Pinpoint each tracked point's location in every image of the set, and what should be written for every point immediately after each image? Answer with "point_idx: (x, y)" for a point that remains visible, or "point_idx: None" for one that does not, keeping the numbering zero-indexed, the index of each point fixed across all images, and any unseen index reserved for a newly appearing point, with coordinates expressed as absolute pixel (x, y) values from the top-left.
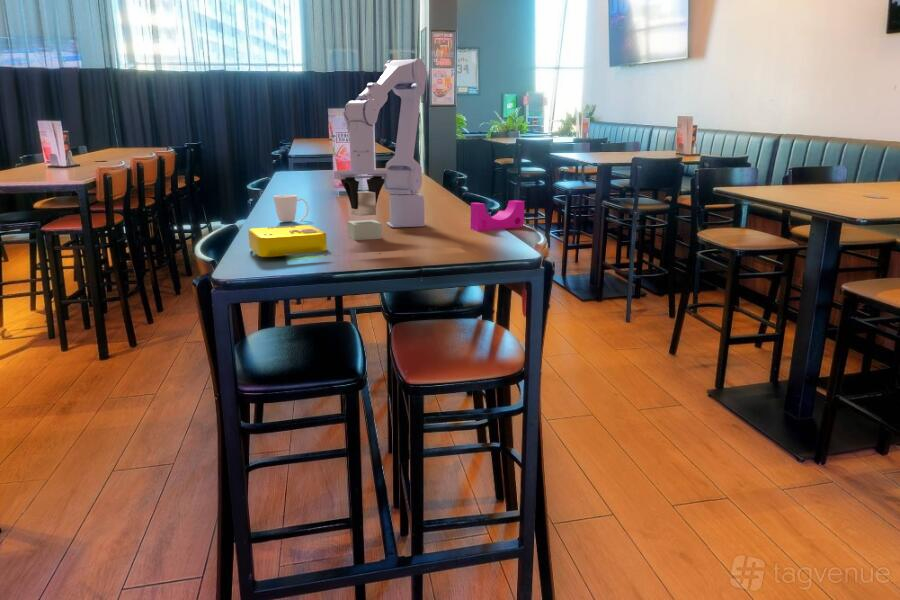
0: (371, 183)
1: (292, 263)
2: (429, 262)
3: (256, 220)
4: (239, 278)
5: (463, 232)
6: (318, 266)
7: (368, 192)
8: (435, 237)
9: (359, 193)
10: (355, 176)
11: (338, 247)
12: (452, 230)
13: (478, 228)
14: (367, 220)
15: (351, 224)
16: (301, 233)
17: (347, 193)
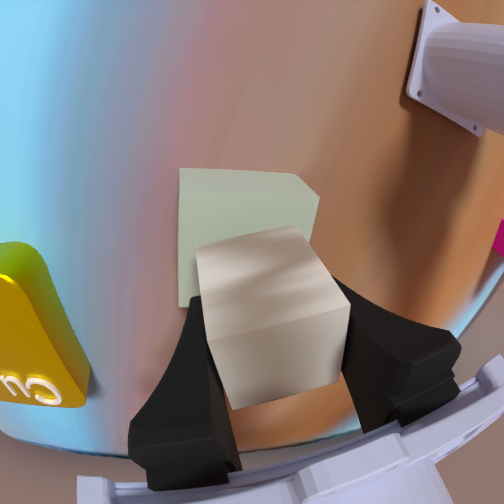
0: (372, 391)
1: (52, 420)
2: (244, 445)
3: None
4: (22, 439)
5: (475, 245)
6: (92, 438)
7: (305, 381)
8: (399, 291)
9: (235, 407)
10: (252, 486)
11: (116, 353)
12: (483, 209)
13: (497, 251)
14: (281, 205)
15: (178, 270)
16: (33, 396)
17: (172, 364)
